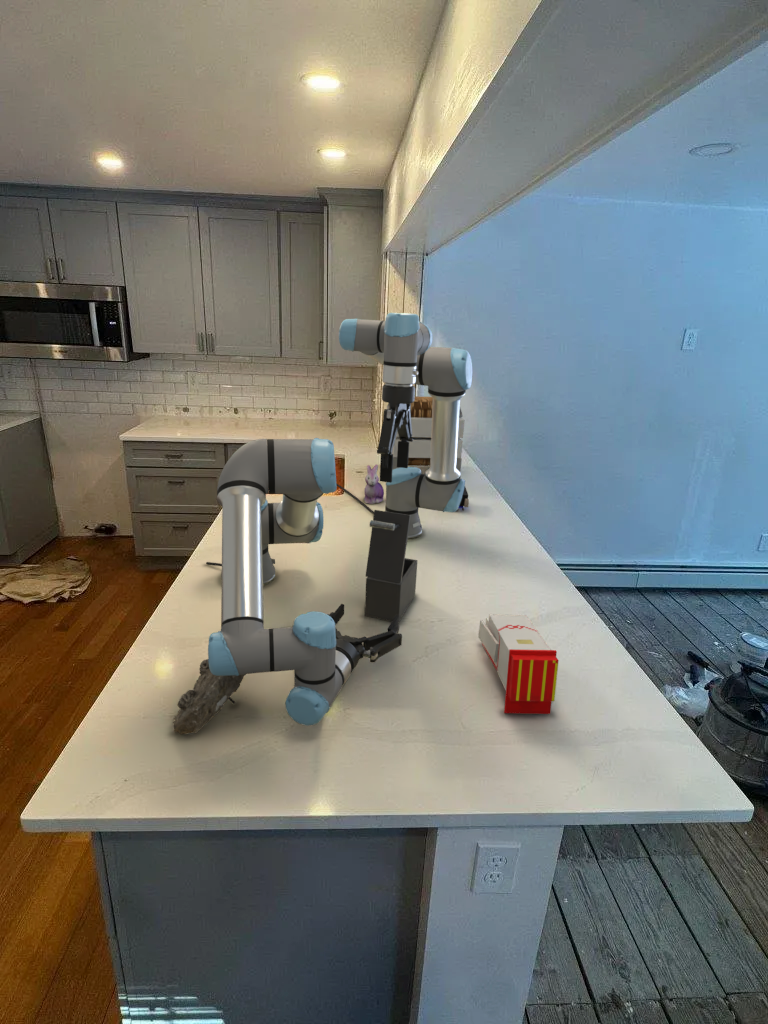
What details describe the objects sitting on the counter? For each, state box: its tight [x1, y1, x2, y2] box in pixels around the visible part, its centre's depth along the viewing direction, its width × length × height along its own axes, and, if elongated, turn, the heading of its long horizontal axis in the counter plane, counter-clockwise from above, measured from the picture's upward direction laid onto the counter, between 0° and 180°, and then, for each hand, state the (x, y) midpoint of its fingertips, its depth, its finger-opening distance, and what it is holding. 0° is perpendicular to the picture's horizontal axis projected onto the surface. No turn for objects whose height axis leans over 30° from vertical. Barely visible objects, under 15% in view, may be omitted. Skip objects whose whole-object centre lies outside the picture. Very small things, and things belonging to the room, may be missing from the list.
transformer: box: [386, 396, 465, 475], centre depth 268 cm, size 34×33×41 cm
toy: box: [477, 613, 560, 715], centre depth 124 cm, size 12×13×30 cm
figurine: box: [363, 464, 385, 505], centre depth 230 cm, size 9×10×15 cm
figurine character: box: [458, 486, 470, 512], centre depth 229 cm, size 7×8×15 cm
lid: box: [365, 509, 411, 583], centre depth 137 cm, size 17×9×9 cm
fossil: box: [172, 658, 247, 736], centre depth 111 cm, size 22×10×15 cm
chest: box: [364, 557, 418, 623], centre depth 150 cm, size 16×9×11 cm, turn 162°
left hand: (369, 614), depth 133 cm, fingers open, 13 cm apart
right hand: (394, 474), depth 136 cm, fingers open, 13 cm apart
